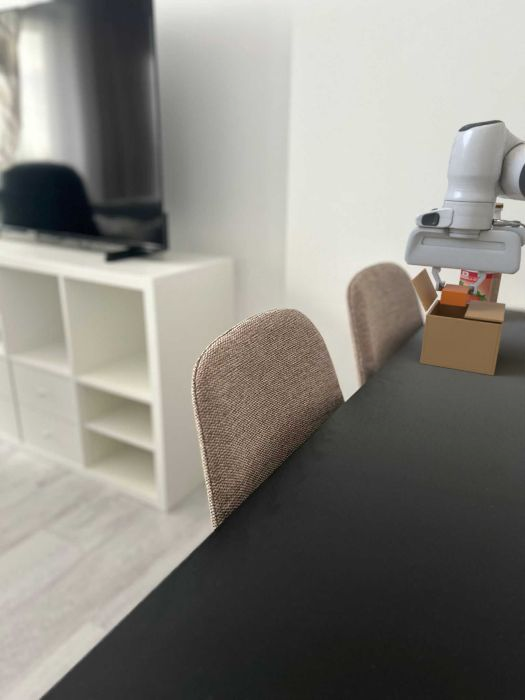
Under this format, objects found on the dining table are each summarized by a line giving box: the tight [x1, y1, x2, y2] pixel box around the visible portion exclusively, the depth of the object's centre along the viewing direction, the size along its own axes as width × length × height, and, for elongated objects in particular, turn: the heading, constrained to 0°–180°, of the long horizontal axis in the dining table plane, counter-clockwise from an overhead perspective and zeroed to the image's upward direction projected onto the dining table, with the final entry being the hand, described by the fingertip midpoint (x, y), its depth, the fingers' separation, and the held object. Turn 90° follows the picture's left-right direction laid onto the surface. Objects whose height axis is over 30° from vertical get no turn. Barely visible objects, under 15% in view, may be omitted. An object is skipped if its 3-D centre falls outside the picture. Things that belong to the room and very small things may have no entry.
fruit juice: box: [458, 202, 504, 303], centre depth 126 cm, size 9×9×28 cm
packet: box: [439, 283, 469, 307], centre depth 98 cm, size 4×7×3 cm, turn 154°
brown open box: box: [419, 299, 506, 377], centre depth 99 cm, size 14×13×10 cm
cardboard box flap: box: [411, 268, 439, 312], centre depth 100 cm, size 14×6×1 cm
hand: (455, 292), depth 97 cm, fingers closed on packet, 4 cm apart
